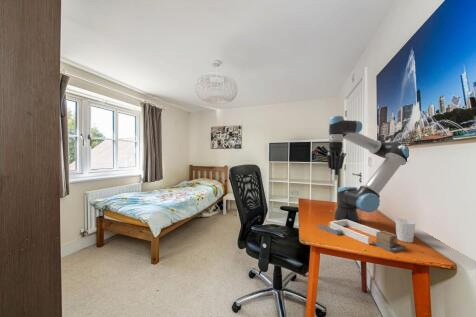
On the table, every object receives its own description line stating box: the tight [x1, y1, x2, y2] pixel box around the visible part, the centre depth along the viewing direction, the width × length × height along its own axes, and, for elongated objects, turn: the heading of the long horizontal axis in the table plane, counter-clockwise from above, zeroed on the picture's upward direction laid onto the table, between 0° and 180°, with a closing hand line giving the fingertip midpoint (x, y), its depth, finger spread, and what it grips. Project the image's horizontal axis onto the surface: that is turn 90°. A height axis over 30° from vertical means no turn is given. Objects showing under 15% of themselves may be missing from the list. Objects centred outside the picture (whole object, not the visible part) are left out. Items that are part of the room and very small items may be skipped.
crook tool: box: [317, 224, 343, 236], centre depth 113 cm, size 5×12×2 cm, turn 31°
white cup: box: [395, 218, 416, 243], centre depth 102 cm, size 8×8×10 cm
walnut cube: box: [375, 230, 398, 249], centre depth 95 cm, size 6×6×6 cm
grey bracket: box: [371, 241, 406, 253], centre depth 94 cm, size 10×9×1 cm
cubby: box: [328, 219, 381, 245], centre depth 109 cm, size 15×24×4 cm, turn 23°
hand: (334, 180), depth 117 cm, fingers closed
